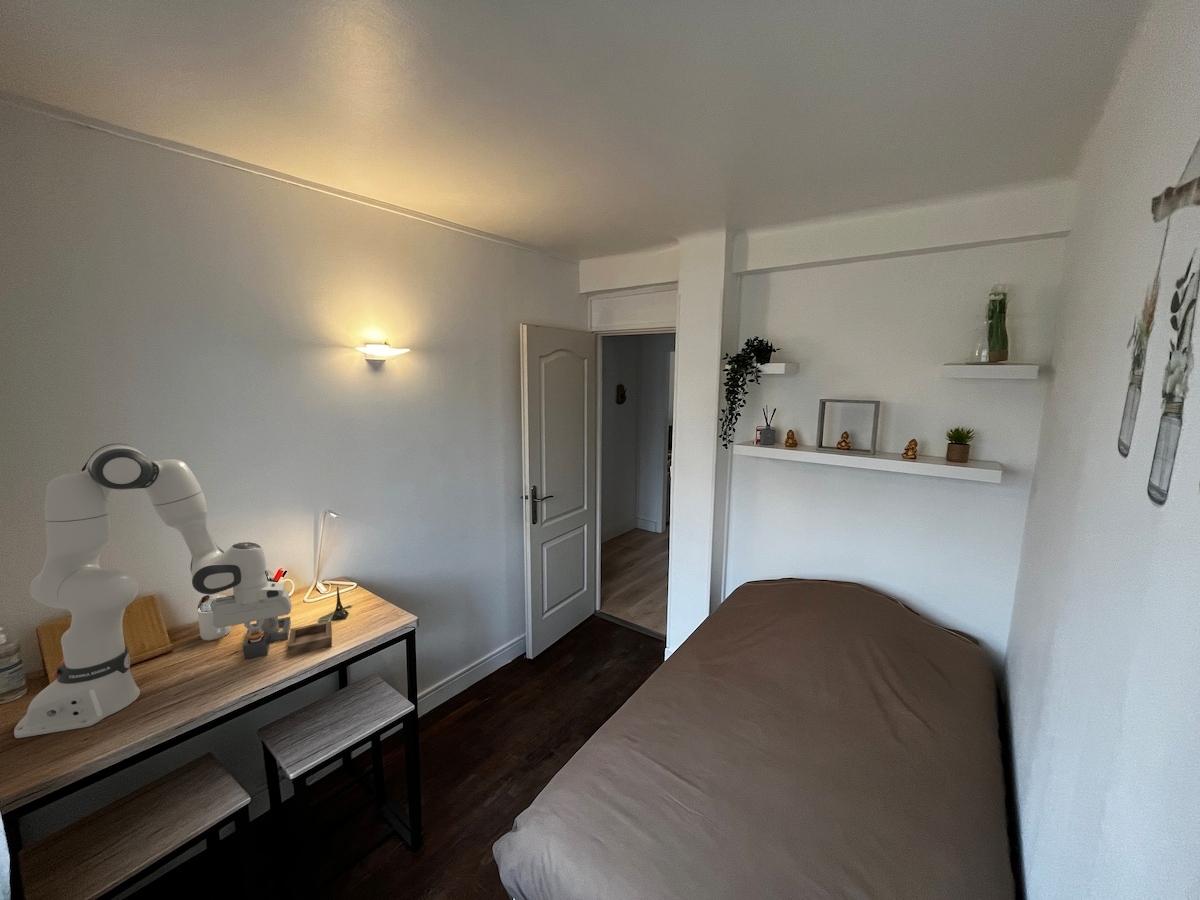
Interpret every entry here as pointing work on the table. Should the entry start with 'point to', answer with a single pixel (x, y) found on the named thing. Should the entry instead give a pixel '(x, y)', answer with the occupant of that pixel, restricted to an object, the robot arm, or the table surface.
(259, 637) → the release plunger
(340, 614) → the eiffel tower figurine
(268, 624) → the energy drink can
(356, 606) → the table surface
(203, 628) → the mug
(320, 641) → the brown wooden tray
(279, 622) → the socket block
